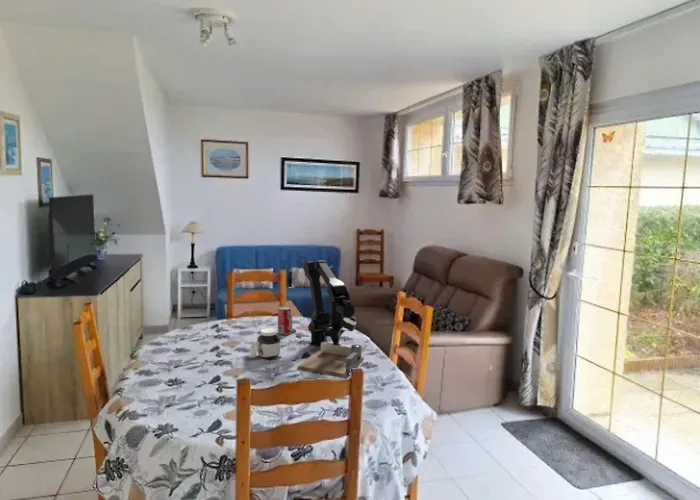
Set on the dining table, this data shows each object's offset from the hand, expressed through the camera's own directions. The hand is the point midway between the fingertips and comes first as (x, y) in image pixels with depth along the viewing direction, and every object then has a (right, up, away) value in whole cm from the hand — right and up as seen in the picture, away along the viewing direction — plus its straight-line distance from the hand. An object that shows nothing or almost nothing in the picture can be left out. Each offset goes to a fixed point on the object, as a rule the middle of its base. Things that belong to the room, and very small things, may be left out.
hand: (336, 347), depth 218 cm
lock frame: (-2, -5, -11) cm, 12 cm away
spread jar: (-31, -4, -4) cm, 32 cm away
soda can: (-27, +1, +31) cm, 41 cm away
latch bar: (+2, -2, -4) cm, 5 cm away
